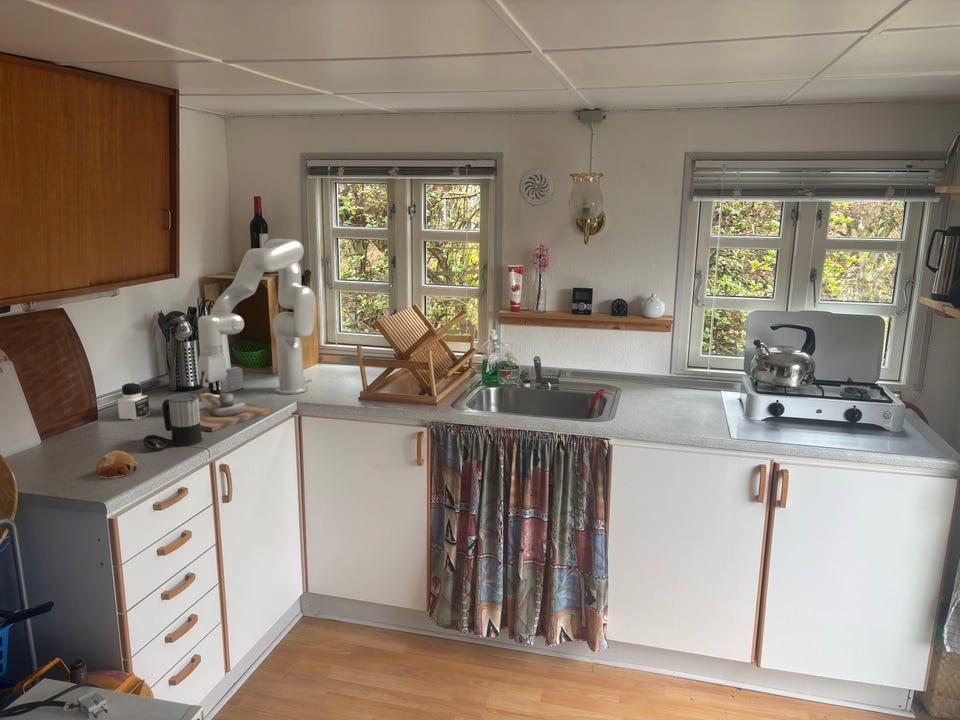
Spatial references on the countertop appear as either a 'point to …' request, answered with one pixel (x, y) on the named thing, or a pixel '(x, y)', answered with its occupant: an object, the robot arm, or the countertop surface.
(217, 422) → the board
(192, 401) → the milk frother
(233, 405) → the grey disc with handle
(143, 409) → the medicine bottle
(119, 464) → the bread roll
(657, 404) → the countertop surface
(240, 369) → the medicine box
